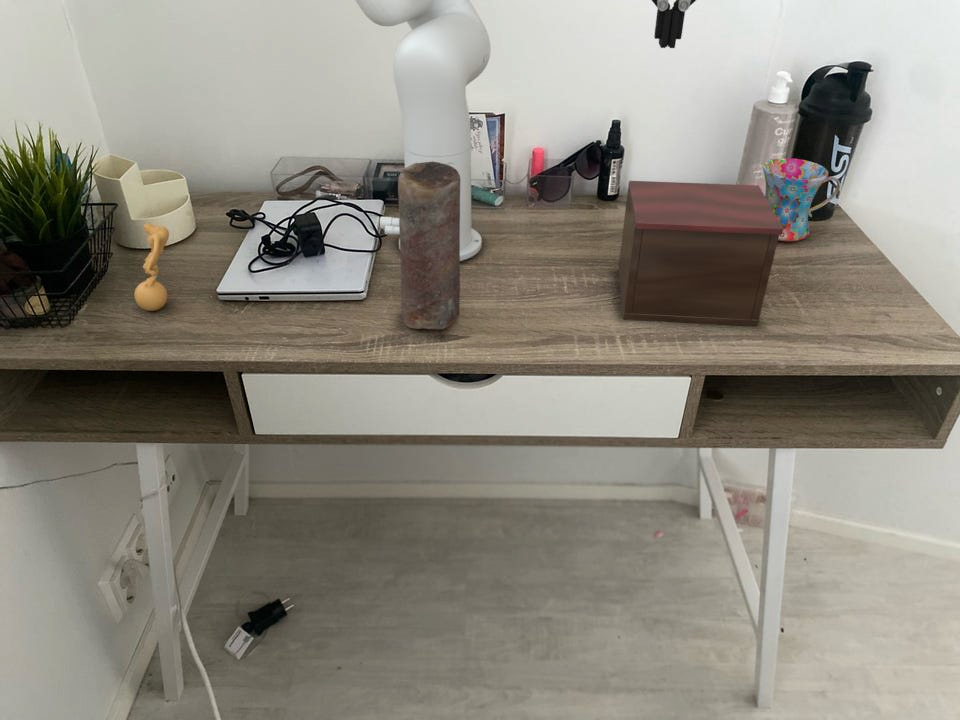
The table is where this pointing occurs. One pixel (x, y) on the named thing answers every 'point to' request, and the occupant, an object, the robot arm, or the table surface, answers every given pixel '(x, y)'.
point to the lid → (702, 208)
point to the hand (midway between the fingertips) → (666, 45)
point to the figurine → (152, 271)
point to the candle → (429, 245)
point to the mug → (794, 193)
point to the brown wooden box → (693, 274)
